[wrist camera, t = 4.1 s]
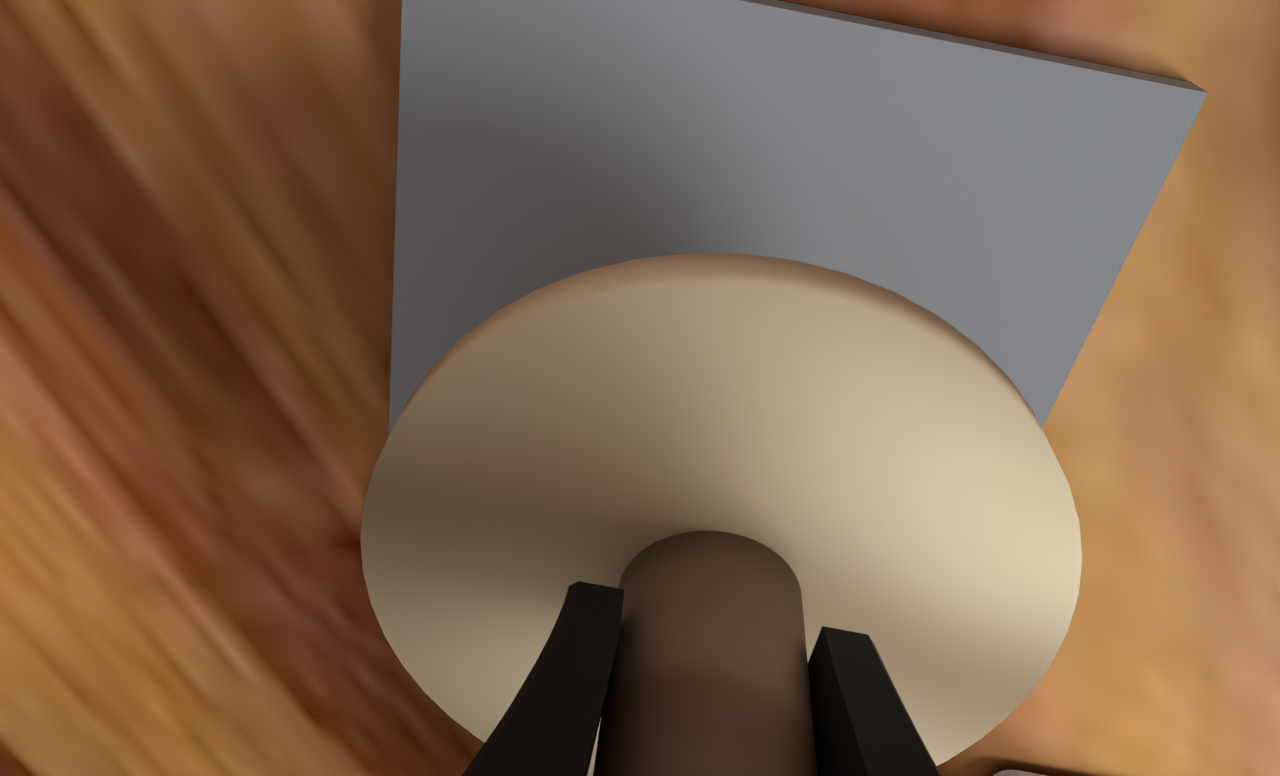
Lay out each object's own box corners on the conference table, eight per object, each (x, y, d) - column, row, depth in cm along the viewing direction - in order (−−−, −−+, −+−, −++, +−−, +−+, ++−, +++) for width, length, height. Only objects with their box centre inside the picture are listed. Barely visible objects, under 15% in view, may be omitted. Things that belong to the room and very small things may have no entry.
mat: (901, 682, 22) (905, 703, 22) (391, 591, 22) (383, 610, 21) (1191, 82, 14) (1208, 93, 14) (415, -72, 14) (404, -67, 14)
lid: (927, 814, 17) (1007, 1230, 12) (373, 717, 17) (227, 1101, 12) (1198, 336, 12) (1542, 740, 7) (384, 183, 11) (121, 486, 6)
